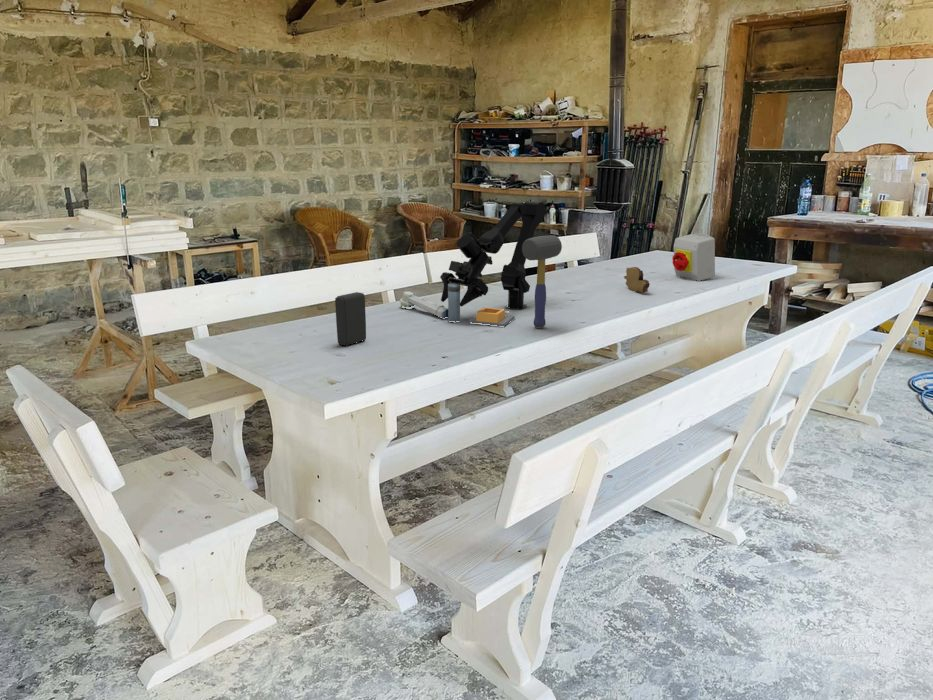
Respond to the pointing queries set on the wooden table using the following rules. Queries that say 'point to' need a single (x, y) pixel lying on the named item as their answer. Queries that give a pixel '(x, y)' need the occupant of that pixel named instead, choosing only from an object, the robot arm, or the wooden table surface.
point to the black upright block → (350, 318)
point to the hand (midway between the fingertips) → (451, 303)
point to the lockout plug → (454, 302)
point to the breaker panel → (493, 317)
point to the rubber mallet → (541, 269)
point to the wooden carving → (636, 280)
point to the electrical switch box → (694, 256)
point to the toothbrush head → (423, 304)
